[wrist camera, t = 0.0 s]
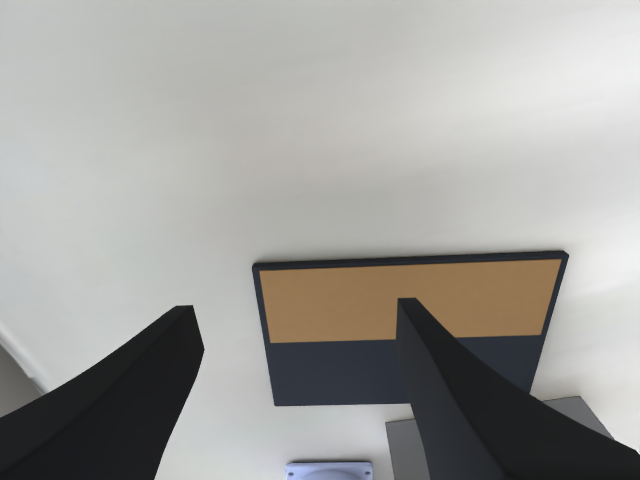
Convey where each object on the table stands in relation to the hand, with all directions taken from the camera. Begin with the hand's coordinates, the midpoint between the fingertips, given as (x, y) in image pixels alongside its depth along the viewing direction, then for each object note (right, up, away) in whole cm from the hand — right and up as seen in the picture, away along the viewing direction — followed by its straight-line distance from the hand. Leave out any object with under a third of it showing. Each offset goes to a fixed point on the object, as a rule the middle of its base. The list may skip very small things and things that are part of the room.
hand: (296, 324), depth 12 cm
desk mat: (+7, -4, +13) cm, 15 cm away
